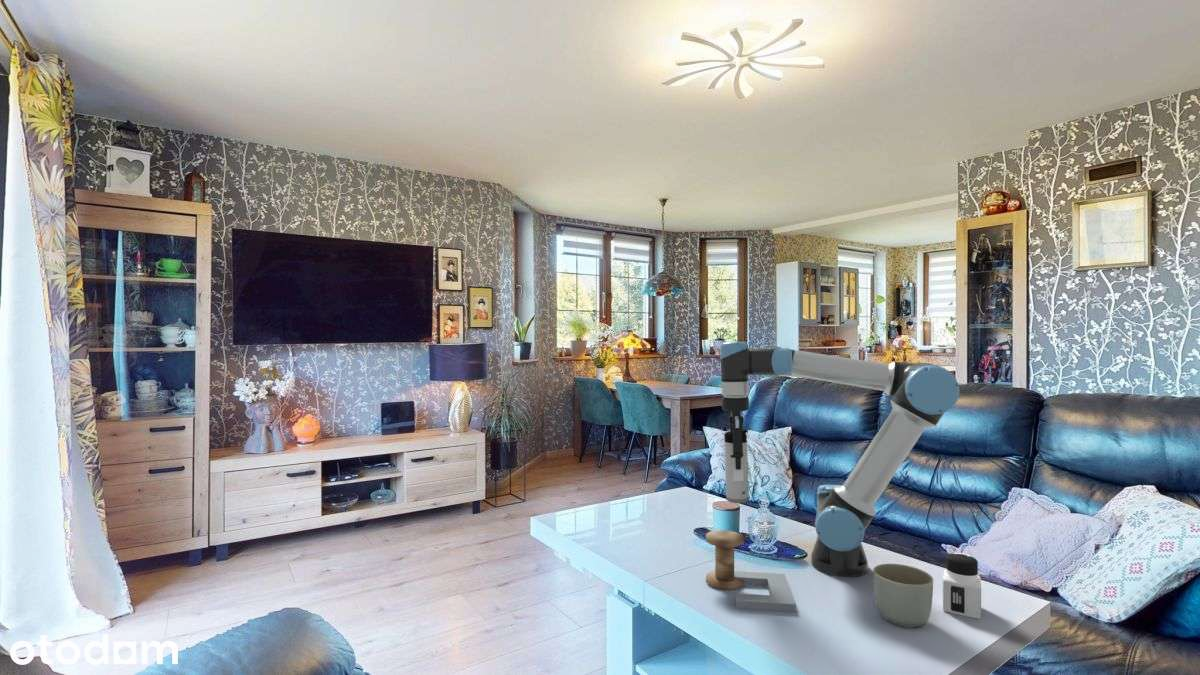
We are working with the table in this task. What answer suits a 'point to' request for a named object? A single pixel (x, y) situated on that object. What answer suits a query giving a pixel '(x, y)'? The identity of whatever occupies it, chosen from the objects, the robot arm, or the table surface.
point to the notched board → (775, 601)
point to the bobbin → (724, 559)
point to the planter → (903, 594)
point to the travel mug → (734, 489)
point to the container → (962, 586)
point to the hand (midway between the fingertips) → (737, 477)
